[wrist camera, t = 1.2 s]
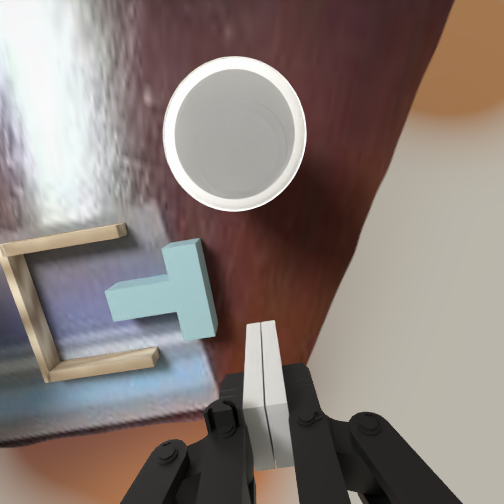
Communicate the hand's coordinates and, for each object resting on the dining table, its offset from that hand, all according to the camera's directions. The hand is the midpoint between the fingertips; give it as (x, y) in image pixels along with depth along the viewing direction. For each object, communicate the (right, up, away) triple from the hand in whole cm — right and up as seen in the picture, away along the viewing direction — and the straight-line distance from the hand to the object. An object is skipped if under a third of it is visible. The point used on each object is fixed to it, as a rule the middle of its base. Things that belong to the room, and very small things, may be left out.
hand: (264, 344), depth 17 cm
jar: (-2, +17, +19) cm, 26 cm away
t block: (-12, 0, +23) cm, 26 cm away
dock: (-22, -1, +23) cm, 32 cm away
